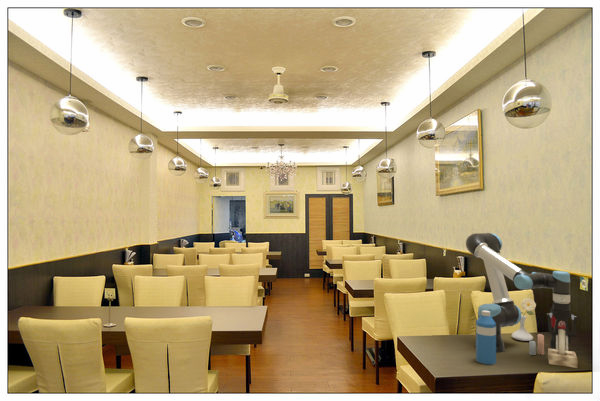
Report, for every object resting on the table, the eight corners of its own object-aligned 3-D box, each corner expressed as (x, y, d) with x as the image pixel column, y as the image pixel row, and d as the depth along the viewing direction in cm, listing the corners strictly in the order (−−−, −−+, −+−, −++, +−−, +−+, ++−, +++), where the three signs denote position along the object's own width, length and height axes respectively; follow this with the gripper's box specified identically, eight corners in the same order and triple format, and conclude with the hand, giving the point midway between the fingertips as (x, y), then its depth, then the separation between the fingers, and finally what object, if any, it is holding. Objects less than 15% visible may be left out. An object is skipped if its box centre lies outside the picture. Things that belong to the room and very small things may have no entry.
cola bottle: (570, 353, 232) (570, 297, 233) (553, 352, 234) (552, 296, 235) (564, 348, 240) (563, 294, 241) (547, 347, 242) (547, 293, 243)
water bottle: (494, 365, 212) (494, 314, 213) (474, 362, 217) (474, 311, 218) (497, 360, 220) (497, 310, 221) (477, 357, 225) (477, 308, 226)
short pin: (529, 355, 229) (529, 341, 229) (529, 353, 232) (529, 340, 232) (535, 356, 228) (535, 342, 228) (535, 354, 230) (535, 341, 231)
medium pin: (537, 354, 231) (537, 335, 231) (537, 352, 233) (537, 333, 234) (544, 355, 229) (544, 336, 230) (543, 353, 232) (543, 334, 232)
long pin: (558, 362, 218) (558, 330, 218) (558, 360, 220) (558, 328, 221) (565, 363, 216) (565, 331, 217) (565, 361, 219) (565, 329, 219)
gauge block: (548, 363, 216) (548, 354, 216) (547, 356, 226) (547, 348, 227) (577, 368, 210) (577, 358, 210) (574, 360, 221) (574, 351, 221)
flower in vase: (510, 340, 256) (509, 297, 257) (513, 335, 266) (513, 294, 266) (535, 344, 249) (534, 300, 250) (537, 339, 258) (537, 297, 259)
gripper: (542, 301, 220) (543, 348, 219) (582, 305, 212) (582, 353, 211) (542, 299, 226) (542, 344, 226) (580, 302, 219) (580, 349, 218)
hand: (561, 349), depth 219 cm, fingers open, 4 cm apart
